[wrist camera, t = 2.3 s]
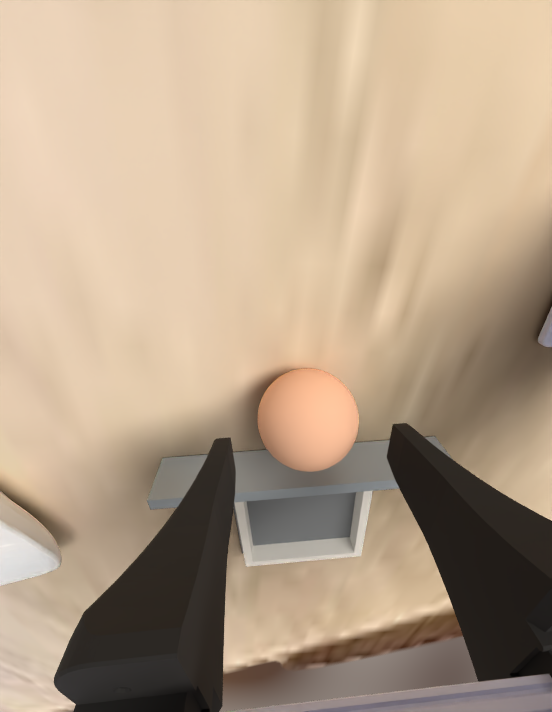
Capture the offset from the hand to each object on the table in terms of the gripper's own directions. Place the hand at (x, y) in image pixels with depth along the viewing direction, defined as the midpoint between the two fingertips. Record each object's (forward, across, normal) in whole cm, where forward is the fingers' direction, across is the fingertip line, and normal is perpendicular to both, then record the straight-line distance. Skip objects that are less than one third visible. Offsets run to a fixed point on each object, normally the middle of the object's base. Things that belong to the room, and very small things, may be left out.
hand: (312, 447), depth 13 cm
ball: (+2, 0, 0) cm, 2 cm away
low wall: (+4, 0, +5) cm, 7 cm away
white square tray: (+4, 0, +11) cm, 12 cm away
